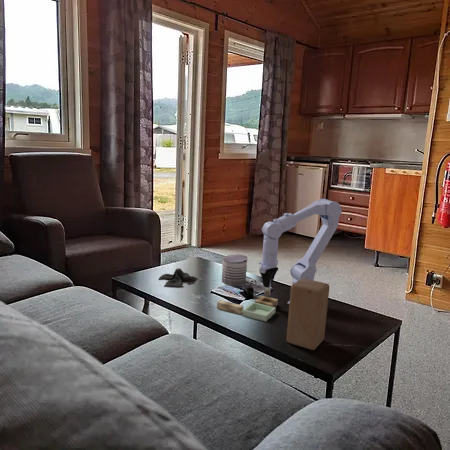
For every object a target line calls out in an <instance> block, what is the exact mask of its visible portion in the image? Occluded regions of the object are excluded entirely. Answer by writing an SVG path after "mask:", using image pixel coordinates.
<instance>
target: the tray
mask: <svg viewBox="0 0 450 450" xmlns="http://www.w3.org/2000/svg"><path fill="white" fill-rule="evenodd" d="M276 308H277V307H271V306H267V305H262V304H258V303H255V301H254V302H253V301H252V302H251V304H249V305H247V307H245V308H243V313H242V316H243V317H247V318H251V319H253V320H257V321H263V322H267V321H268V320H270V319H271V318H272V317H273V316H274V315H275V314H276V310H277V309H276Z"/></svg>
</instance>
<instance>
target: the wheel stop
mask: <svg viewBox="0 0 450 450" xmlns="http://www.w3.org/2000/svg"><path fill="white" fill-rule="evenodd" d="M216 309H218V310H221V311H226V312H229V313H233V314H238V315H241V314H243V310H244V305H241V304H237V303H233V302H229V301H225V300H221V299H219V300H218V301H217V302H216Z"/></svg>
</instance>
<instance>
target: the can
mask: <svg viewBox="0 0 450 450" xmlns="http://www.w3.org/2000/svg"><path fill="white" fill-rule="evenodd" d="M247 266H248V256H247V255H244V254H236V253H235V254H227V255H225V256H223V257H222V271H221V272H222V273H221V282H222V283H223V284H224V285H226V286H230V287H238V286H239V287H241V286H244V285H246V282H247V271H248V270H247Z"/></svg>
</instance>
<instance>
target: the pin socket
mask: <svg viewBox="0 0 450 450" xmlns="http://www.w3.org/2000/svg"><path fill="white" fill-rule="evenodd" d="M257 298H258V299H255V301H254V303H258V304H262V305H267V306H271V307H275V308H277V306H278V302H279V299H278V298H274V297H268V296H266V295H260V296H259V297H257Z"/></svg>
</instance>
